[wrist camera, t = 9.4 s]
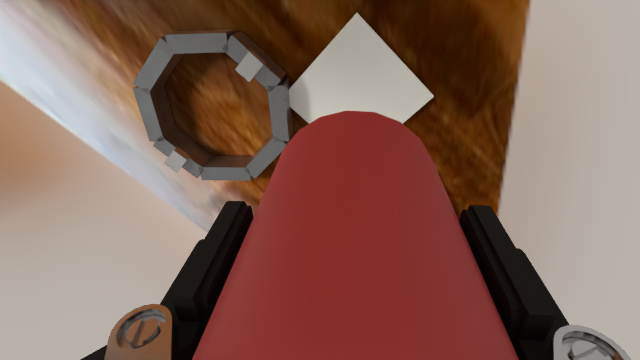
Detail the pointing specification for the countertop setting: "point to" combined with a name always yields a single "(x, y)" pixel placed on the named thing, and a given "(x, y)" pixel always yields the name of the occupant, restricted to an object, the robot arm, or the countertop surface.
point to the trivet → (358, 78)
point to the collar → (250, 66)
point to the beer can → (355, 258)
